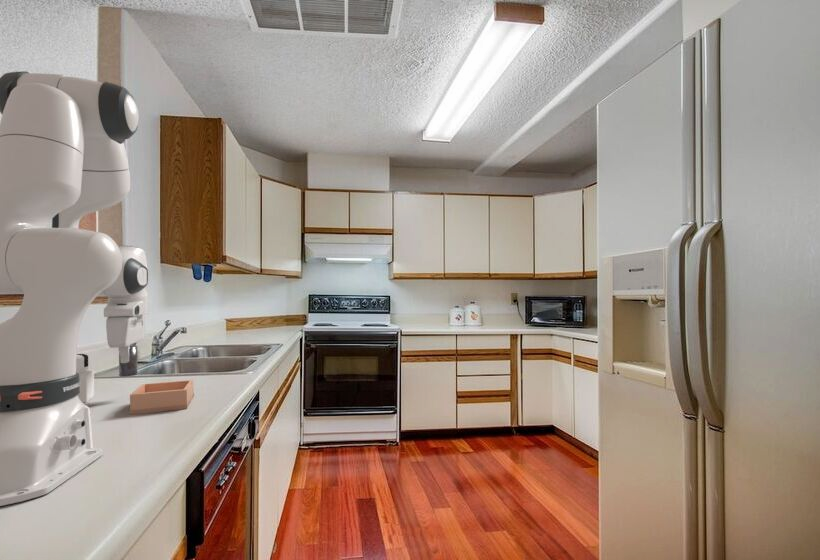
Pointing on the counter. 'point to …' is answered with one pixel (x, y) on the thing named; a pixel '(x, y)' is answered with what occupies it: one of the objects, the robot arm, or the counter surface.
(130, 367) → the battery cell
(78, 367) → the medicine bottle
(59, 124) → the robot arm
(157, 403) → the tray
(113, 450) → the counter surface
